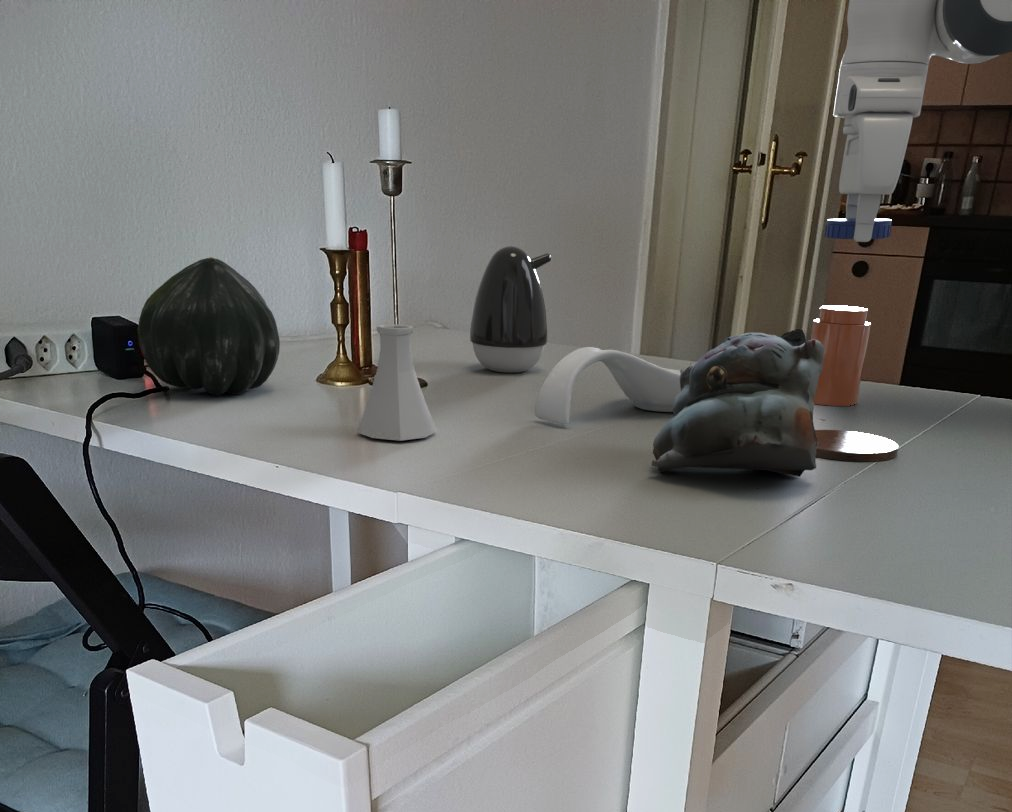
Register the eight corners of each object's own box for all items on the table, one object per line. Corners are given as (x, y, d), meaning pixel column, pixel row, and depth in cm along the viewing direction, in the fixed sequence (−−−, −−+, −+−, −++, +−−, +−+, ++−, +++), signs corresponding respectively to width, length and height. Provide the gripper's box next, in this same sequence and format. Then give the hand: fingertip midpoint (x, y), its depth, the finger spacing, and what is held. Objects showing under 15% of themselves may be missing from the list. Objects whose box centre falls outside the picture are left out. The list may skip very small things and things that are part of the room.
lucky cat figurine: (618, 469, 88) (638, 313, 88) (700, 503, 96) (718, 360, 97) (769, 450, 77) (790, 272, 78) (846, 490, 85) (865, 329, 86)
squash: (181, 326, 123) (138, 229, 109) (302, 337, 122) (274, 240, 108) (152, 422, 118) (103, 332, 104) (278, 434, 117) (245, 345, 103)
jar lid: (812, 237, 113) (814, 220, 113) (844, 234, 118) (846, 217, 117) (870, 240, 109) (873, 221, 108) (901, 236, 113) (903, 219, 112)
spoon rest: (659, 394, 122) (665, 331, 119) (738, 410, 114) (746, 344, 111) (512, 415, 108) (514, 345, 104) (591, 436, 100) (596, 361, 97)
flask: (449, 434, 99) (449, 326, 95) (402, 446, 93) (400, 333, 89) (392, 423, 103) (390, 319, 98) (343, 435, 97) (339, 325, 93)
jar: (844, 396, 124) (860, 305, 120) (865, 406, 118) (882, 311, 114) (794, 395, 124) (807, 304, 119) (812, 405, 118) (827, 310, 113)
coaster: (871, 438, 103) (873, 430, 102) (915, 462, 94) (916, 453, 93) (776, 436, 102) (777, 429, 102) (810, 461, 93) (811, 452, 93)
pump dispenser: (557, 375, 132) (563, 249, 125) (479, 376, 129) (482, 247, 123) (534, 362, 141) (539, 244, 134) (461, 363, 138) (463, 243, 132)
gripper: (837, 105, 117) (819, 235, 123) (859, 89, 99) (837, 243, 105) (894, 106, 116) (873, 237, 122) (927, 90, 98) (900, 245, 104)
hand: (856, 240), depth 113 cm, fingers closed on jar lid, 7 cm apart
